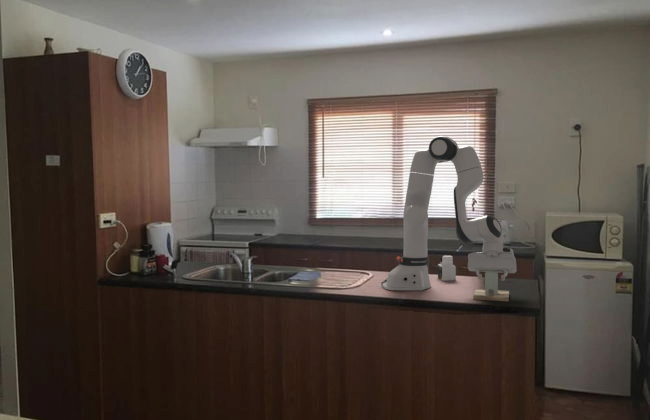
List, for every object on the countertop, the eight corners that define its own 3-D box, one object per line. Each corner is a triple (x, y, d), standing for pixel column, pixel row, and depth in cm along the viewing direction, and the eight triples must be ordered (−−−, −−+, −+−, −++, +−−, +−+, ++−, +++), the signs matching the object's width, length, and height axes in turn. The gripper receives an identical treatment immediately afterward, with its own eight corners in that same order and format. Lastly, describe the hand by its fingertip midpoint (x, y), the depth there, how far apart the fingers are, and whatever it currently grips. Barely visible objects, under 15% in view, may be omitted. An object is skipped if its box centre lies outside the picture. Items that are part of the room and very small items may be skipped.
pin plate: (475, 292, 247) (475, 283, 247) (509, 294, 243) (509, 285, 242) (473, 299, 234) (473, 289, 234) (508, 301, 229) (508, 291, 229)
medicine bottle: (437, 278, 282) (437, 254, 281) (451, 277, 282) (451, 254, 281) (441, 280, 274) (441, 256, 274) (455, 280, 275) (456, 256, 274)
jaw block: (485, 291, 241) (485, 271, 241) (497, 292, 240) (497, 271, 239) (485, 294, 237) (485, 273, 236) (497, 294, 235) (497, 273, 234)
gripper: (467, 247, 248) (465, 273, 239) (516, 249, 241) (516, 276, 232) (468, 256, 252) (466, 281, 243) (516, 258, 245) (516, 284, 237)
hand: (491, 279), depth 238 cm, fingers open, 8 cm apart
